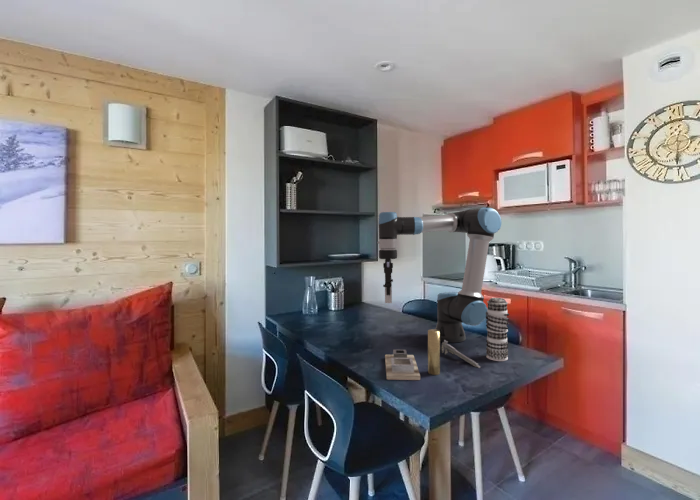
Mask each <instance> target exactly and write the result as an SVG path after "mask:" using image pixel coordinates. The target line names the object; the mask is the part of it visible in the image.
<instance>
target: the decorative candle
mask: <svg viewBox="0 0 700 500" xmlns="http://www.w3.org/2000/svg"><path fill="white" fill-rule="evenodd" d="M486 302H487V312H486V318H485V323H486V325H485V326H486V327H485V328H486V331H487V336H486V344H485V345H486V348H485V350H486V351H485V353H486V355H485V357H486V358H487V359H488V360H491V361H494V362H505V361H508V359H509V357H508V356H509V349H508V348H509V346H508V344H509V342H508V332H509V327H508V325H509V324H510V323H509V322H508V321H509V320H510V318H508V316H510V313H508V304H509V302H508V301H507V300H506V299H505V298H502V297H492V298H491V297H490V298H489V300H487V301H486Z"/></svg>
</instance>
